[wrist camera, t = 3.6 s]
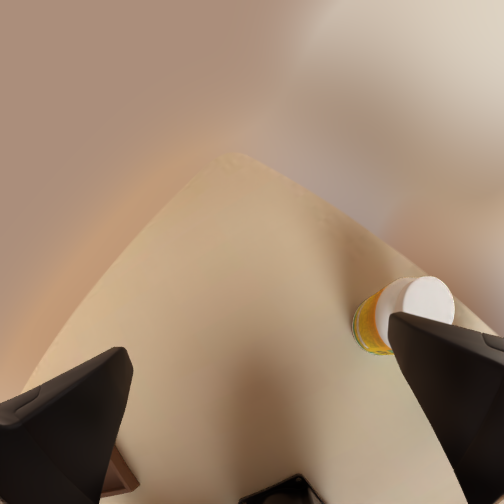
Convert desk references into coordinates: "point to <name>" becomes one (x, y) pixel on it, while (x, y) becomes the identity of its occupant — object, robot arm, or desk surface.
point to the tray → (118, 477)
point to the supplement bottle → (400, 299)
